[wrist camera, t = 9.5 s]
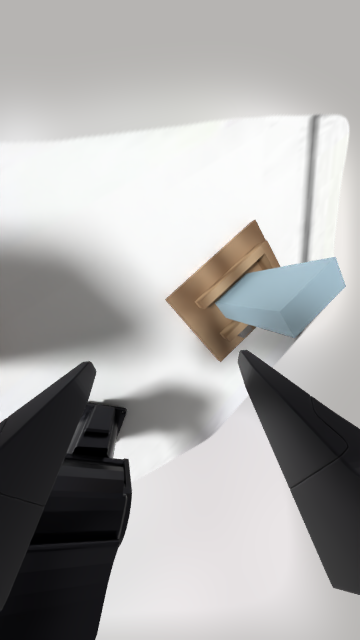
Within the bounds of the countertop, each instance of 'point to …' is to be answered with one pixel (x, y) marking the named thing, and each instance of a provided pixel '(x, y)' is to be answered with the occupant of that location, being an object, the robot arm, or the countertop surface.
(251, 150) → the countertop surface
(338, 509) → the robot arm
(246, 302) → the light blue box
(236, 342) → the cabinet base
